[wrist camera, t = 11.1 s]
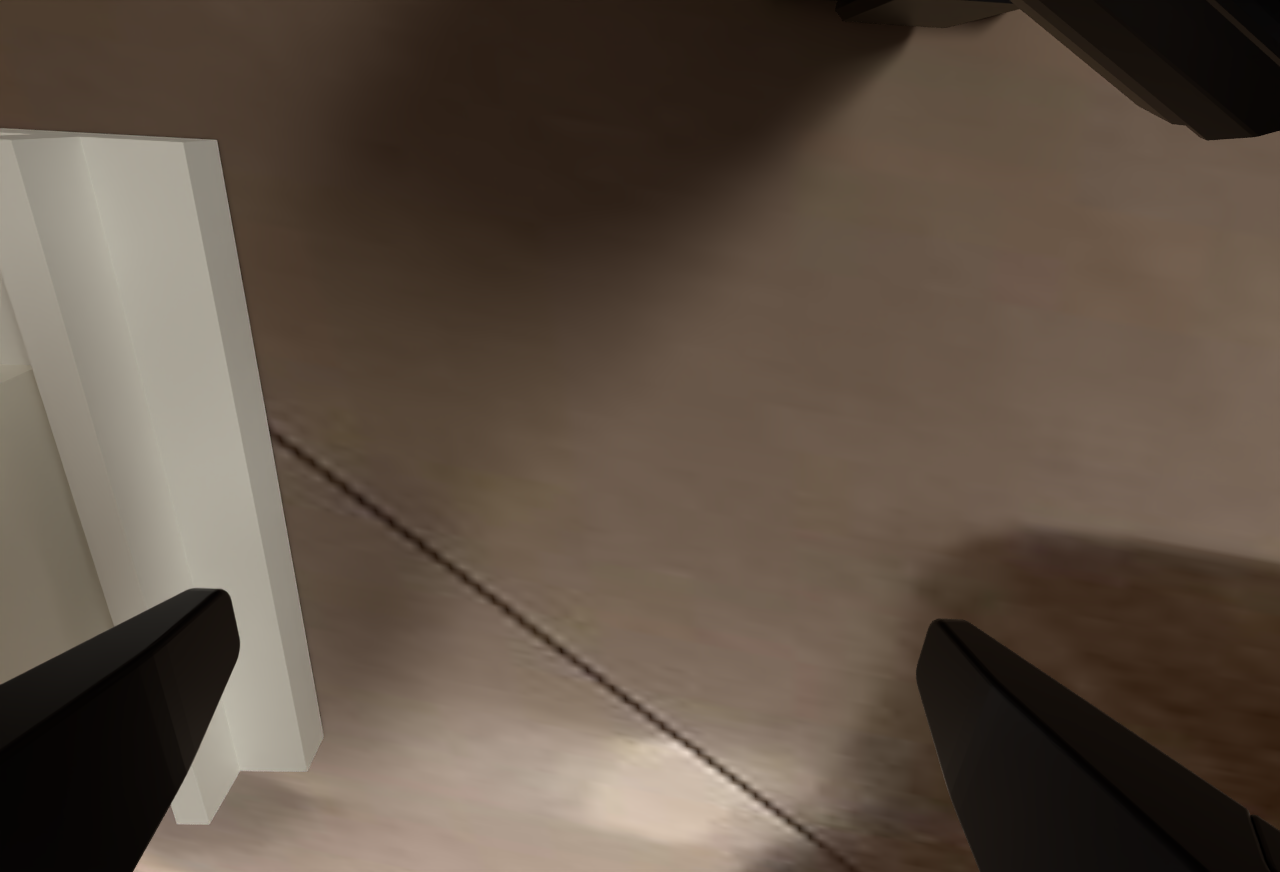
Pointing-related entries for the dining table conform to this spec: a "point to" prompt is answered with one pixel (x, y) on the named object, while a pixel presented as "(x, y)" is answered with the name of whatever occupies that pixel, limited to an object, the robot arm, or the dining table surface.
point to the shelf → (160, 412)
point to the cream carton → (39, 539)
